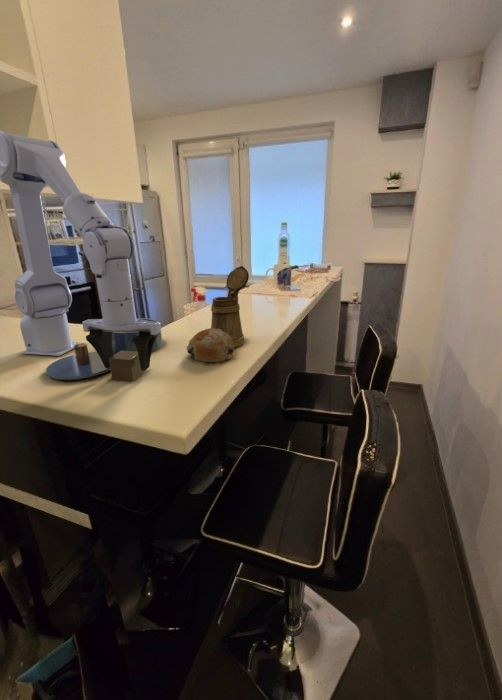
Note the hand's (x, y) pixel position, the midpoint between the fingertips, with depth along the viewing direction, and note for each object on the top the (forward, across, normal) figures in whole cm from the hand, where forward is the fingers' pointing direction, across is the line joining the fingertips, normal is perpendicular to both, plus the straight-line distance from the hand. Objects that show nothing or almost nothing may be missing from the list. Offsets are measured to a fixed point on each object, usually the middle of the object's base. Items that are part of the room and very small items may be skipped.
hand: (127, 367), depth 64 cm
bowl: (+2, +7, -16) cm, 18 cm away
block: (+2, 0, 0) cm, 2 cm away
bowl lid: (+1, +11, -2) cm, 11 cm away
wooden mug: (+2, -15, -25) cm, 29 cm away
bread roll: (+2, -13, -13) cm, 18 cm away
